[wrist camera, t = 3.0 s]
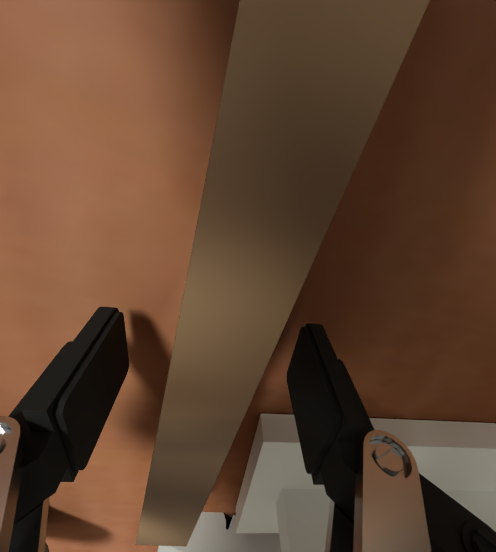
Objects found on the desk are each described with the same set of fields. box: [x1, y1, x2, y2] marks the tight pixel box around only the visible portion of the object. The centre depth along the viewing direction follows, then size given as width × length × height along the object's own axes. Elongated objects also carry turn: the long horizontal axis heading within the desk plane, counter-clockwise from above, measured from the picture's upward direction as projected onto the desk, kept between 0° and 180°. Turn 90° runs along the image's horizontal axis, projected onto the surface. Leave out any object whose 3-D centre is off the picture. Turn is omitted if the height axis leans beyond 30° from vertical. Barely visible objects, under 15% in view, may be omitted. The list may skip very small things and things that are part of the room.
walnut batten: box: [136, 0, 430, 547], centre depth 10 cm, size 24×3×4 cm, turn 164°
